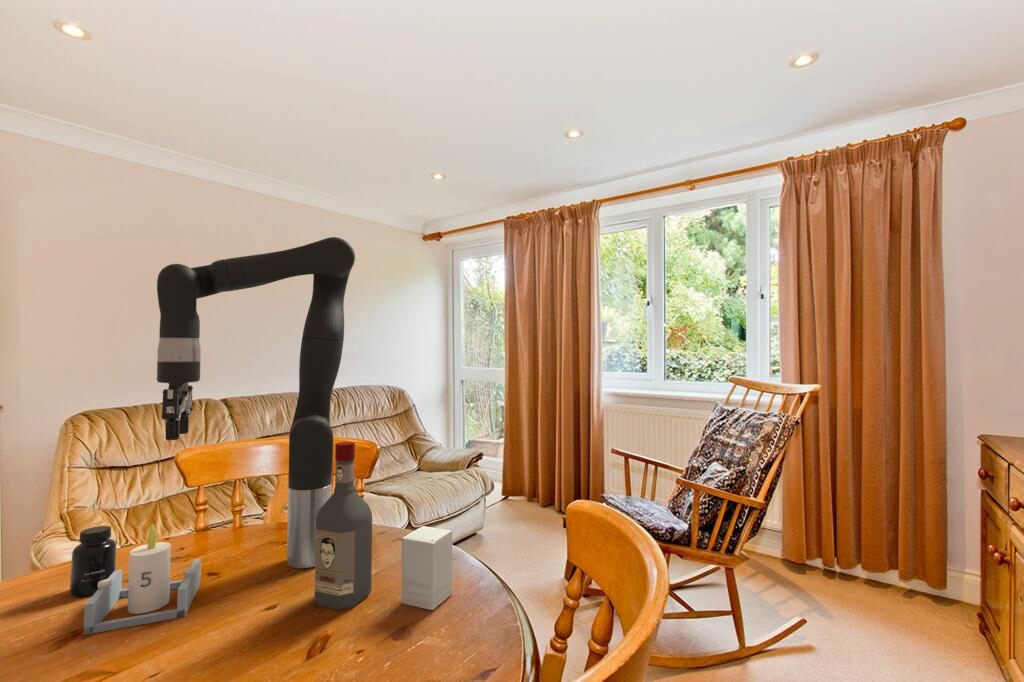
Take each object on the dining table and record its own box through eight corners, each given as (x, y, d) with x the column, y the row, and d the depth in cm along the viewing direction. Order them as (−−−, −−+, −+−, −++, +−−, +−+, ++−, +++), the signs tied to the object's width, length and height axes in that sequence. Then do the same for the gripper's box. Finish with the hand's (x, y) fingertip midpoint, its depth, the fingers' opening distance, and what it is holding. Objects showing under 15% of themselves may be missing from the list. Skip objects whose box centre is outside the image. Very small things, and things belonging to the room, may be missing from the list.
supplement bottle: (88, 600, 92) (90, 537, 93) (60, 596, 94) (62, 534, 94) (124, 583, 99) (125, 525, 99) (97, 580, 100) (99, 522, 101)
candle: (123, 617, 86) (125, 533, 87) (132, 600, 92) (134, 522, 92) (165, 609, 89) (167, 527, 89) (172, 593, 95) (174, 517, 95)
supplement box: (453, 594, 95) (454, 530, 95) (432, 612, 88) (432, 543, 88) (422, 587, 98) (423, 524, 98) (399, 604, 91) (400, 537, 92)
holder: (202, 582, 100) (203, 554, 100) (187, 616, 87) (188, 583, 87) (111, 596, 93) (112, 566, 94) (80, 635, 81) (81, 600, 81)
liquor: (339, 583, 99) (341, 438, 100) (377, 590, 96) (378, 441, 97) (307, 605, 91) (309, 445, 92) (347, 613, 88) (349, 449, 89)
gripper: (193, 360, 96) (191, 441, 96) (206, 359, 109) (204, 430, 109) (147, 360, 93) (145, 443, 93) (166, 359, 106) (165, 432, 106)
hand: (177, 436), depth 101 cm, fingers open, 8 cm apart
